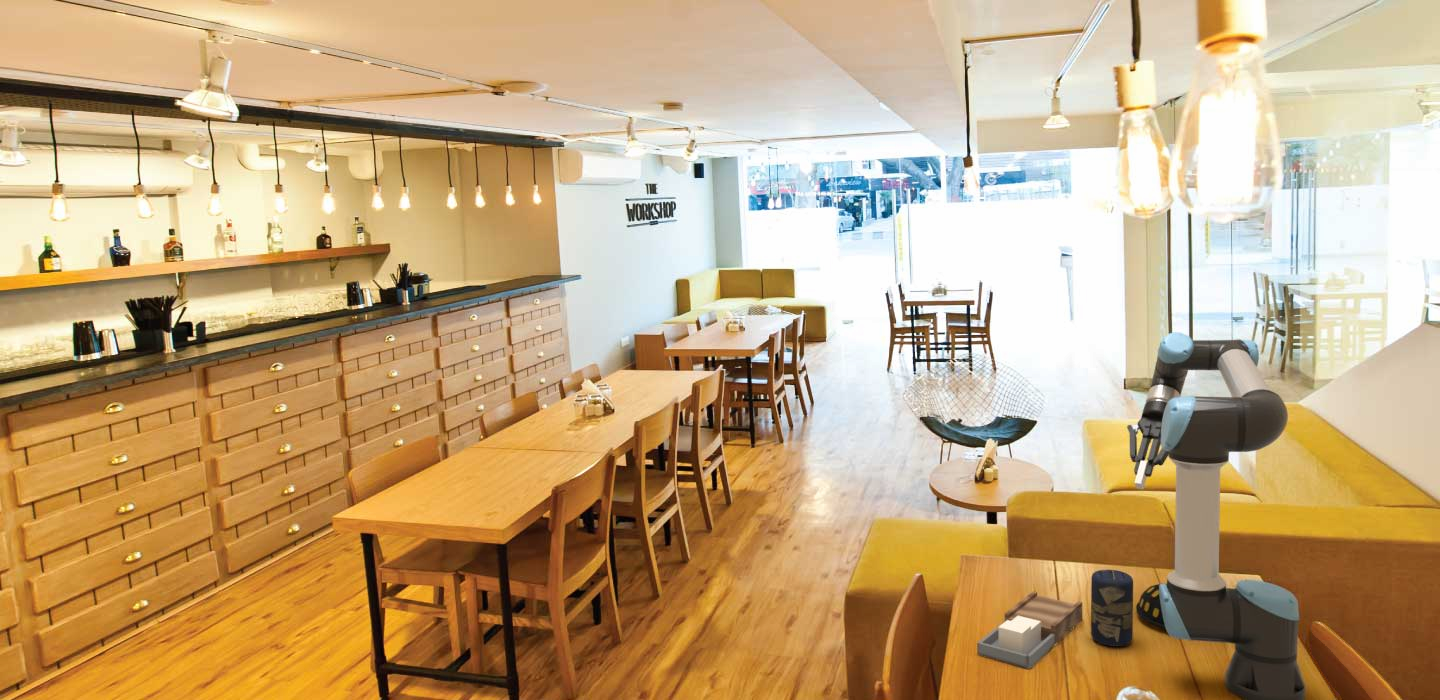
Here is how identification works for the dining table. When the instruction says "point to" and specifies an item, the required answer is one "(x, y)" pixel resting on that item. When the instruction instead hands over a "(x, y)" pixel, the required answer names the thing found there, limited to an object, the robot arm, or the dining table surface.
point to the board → (1048, 614)
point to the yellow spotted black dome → (1151, 606)
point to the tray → (992, 650)
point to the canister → (1112, 607)
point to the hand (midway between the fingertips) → (1138, 486)
